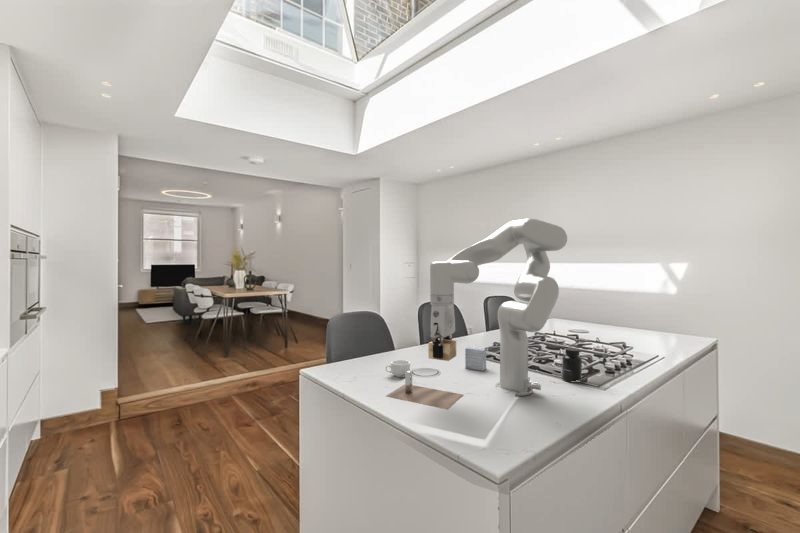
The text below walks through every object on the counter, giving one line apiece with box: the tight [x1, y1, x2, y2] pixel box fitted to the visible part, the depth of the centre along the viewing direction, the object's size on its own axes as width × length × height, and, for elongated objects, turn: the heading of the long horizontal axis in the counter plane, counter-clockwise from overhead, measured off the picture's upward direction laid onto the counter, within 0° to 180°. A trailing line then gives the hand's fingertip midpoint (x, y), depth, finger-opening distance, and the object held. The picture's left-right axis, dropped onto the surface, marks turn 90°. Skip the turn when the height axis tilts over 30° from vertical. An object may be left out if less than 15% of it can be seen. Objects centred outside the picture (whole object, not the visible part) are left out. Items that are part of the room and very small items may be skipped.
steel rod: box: [404, 371, 413, 393], centre depth 126 cm, size 2×2×7 cm
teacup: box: [385, 359, 411, 378], centre depth 149 cm, size 10×8×5 cm
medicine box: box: [464, 346, 487, 372], centre depth 159 cm, size 8×4×9 cm, turn 58°
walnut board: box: [385, 384, 464, 410], centre depth 123 cm, size 22×14×2 cm, turn 61°
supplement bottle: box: [561, 347, 583, 382], centre depth 143 cm, size 7×7×12 cm
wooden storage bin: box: [427, 338, 457, 362], centre depth 120 cm, size 7×7×5 cm
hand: (442, 354), depth 120 cm, fingers closed on wooden storage bin, 6 cm apart
